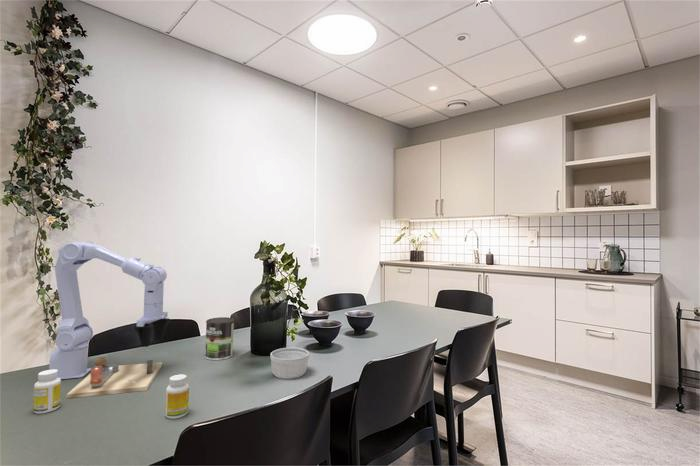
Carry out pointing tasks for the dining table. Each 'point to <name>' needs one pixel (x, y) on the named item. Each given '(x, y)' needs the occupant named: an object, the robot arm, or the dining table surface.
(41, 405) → the supplement bottle
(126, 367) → the board
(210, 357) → the coffee can
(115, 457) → the dining table surface
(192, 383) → the dining table surface
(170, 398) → the supplement bottle
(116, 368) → the lever
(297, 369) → the ramekin
